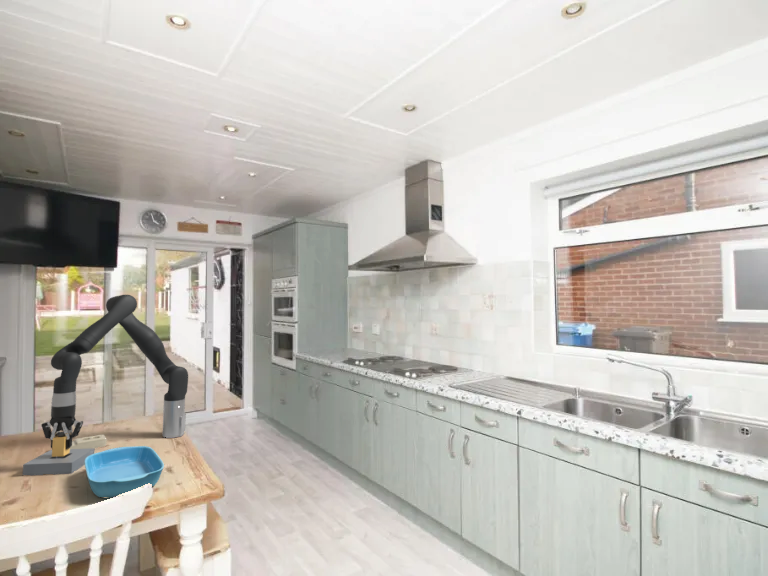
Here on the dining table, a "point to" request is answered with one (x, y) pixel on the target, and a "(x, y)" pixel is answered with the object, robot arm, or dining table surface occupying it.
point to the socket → (57, 462)
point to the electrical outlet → (89, 442)
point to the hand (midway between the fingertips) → (61, 448)
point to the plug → (59, 445)
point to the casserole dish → (122, 470)
